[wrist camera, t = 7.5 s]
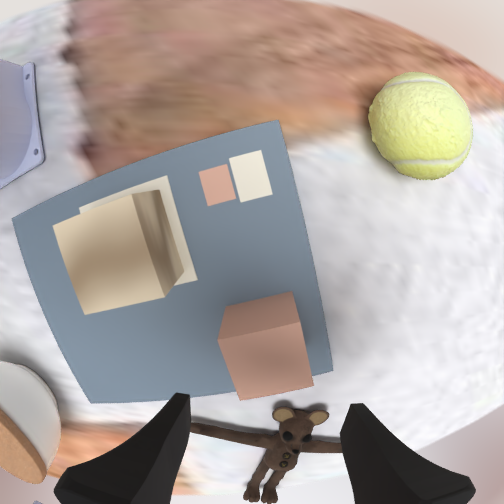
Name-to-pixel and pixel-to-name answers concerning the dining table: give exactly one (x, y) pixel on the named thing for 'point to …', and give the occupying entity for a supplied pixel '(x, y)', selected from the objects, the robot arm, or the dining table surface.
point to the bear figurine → (276, 447)
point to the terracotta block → (265, 347)
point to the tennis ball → (421, 125)
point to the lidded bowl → (27, 423)
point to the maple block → (120, 252)
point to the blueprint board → (194, 263)
